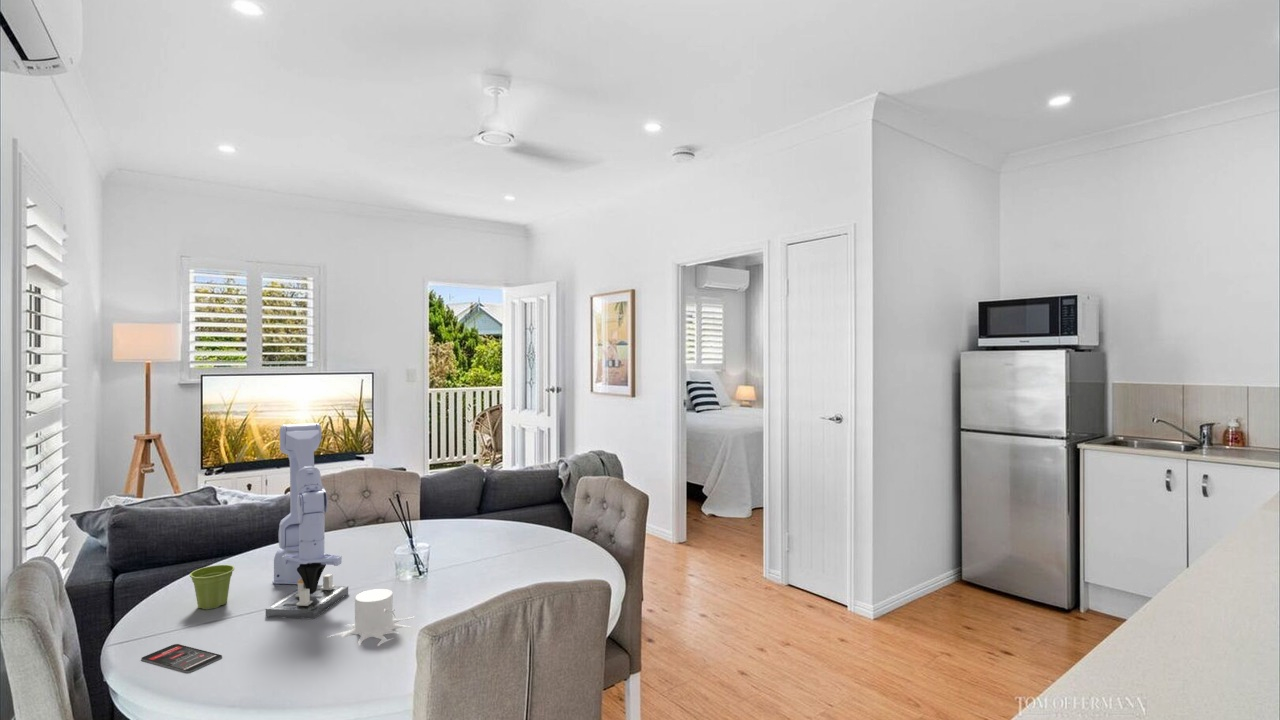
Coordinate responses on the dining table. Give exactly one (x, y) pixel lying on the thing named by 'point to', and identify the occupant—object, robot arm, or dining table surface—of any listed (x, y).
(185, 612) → the dining table surface
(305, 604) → the block
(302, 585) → the breaker mid
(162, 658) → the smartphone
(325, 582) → the breaker far
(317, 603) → the panel
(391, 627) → the tree stump
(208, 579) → the plant pot
